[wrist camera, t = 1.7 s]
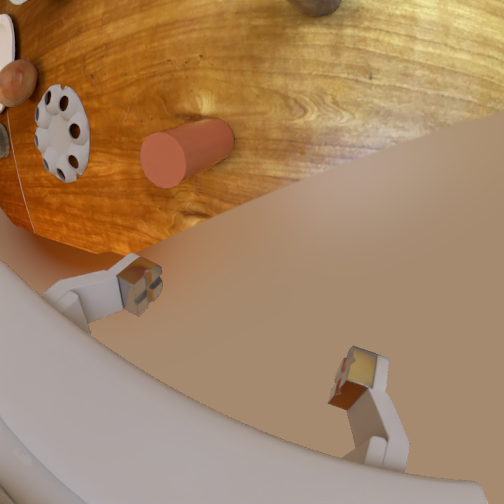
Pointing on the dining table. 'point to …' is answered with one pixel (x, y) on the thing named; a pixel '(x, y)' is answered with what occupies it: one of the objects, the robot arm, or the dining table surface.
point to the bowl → (19, 1)
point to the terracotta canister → (185, 151)
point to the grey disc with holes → (62, 133)
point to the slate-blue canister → (315, 6)
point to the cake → (4, 142)
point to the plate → (6, 43)
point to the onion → (17, 82)
